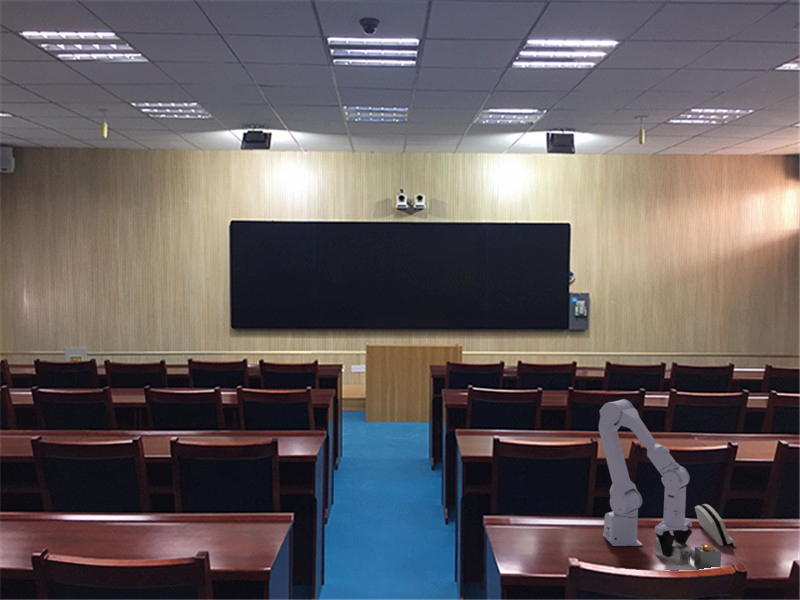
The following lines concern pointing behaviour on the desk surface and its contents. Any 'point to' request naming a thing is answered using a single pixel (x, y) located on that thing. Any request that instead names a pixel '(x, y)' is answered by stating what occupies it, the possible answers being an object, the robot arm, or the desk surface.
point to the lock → (675, 552)
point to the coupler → (706, 556)
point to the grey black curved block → (713, 524)
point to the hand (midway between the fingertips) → (672, 553)
